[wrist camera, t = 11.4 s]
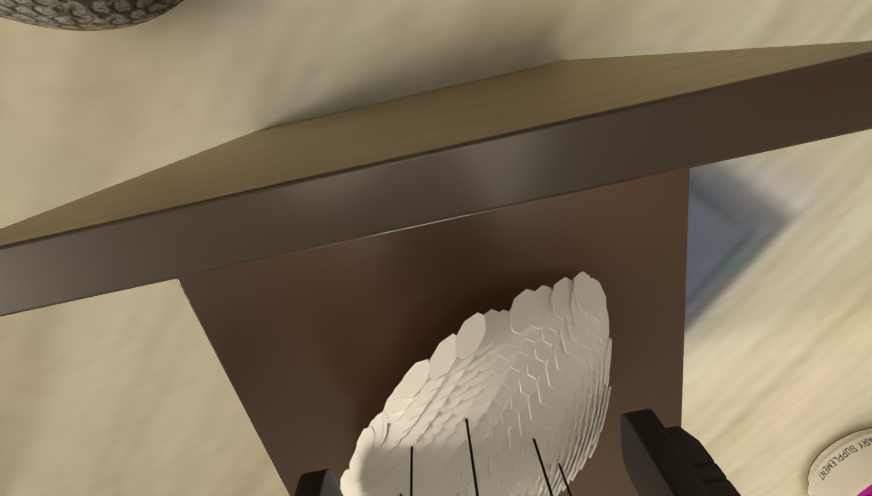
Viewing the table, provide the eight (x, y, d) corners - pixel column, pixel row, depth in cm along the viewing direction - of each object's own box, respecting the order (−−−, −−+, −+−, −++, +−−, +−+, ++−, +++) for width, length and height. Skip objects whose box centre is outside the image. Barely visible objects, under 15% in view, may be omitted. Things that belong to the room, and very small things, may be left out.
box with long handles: (410, 563, 31) (406, 910, 18) (244, 133, 19) (-145, 279, 6) (609, 527, 30) (751, 860, 18) (577, 57, 18) (987, 25, 5)
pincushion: (439, 541, 16) (450, 765, 11) (296, 486, 15) (230, 716, 9) (661, 320, 13) (834, 496, 7) (501, 215, 11) (577, 346, 6)
